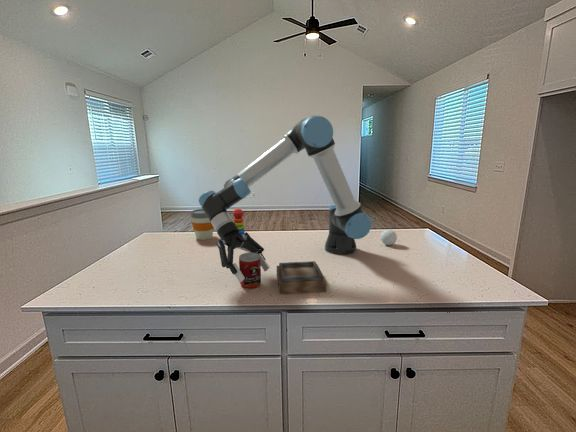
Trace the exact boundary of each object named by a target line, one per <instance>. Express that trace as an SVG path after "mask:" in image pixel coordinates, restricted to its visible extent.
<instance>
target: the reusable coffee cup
mask: <svg viewBox="0 0 576 432" xmlns="http://www.w3.org/2000/svg"><path fill="white" fill-rule="evenodd" d="M190 218H191V220H192V221H191V224H192V229H193V230H194V235H195V238H196V239H197V240H210V239H212V238H213V237H214V236H213V235H214V234H213V233H214V227H213V225H212V224H211V222H210V220H209V219H208V217H207V216H206V214H205V212H204V211H203V210H202V208H199V209H194V210H191V211H190Z"/></svg>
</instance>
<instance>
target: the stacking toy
mask: <svg viewBox="0 0 576 432" xmlns="http://www.w3.org/2000/svg"><path fill="white" fill-rule="evenodd" d="M232 214H233V216H234V218H232V219H233V222H234V223H235V224H236V226H237V227H238V229H239V233H240V234H241V235H243V234H245V232H246V231H245V225H244V218H243V217H244V216H243V215H244V211H243V210H242V209H241V208H235V209H234V210H233V212H232Z"/></svg>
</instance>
